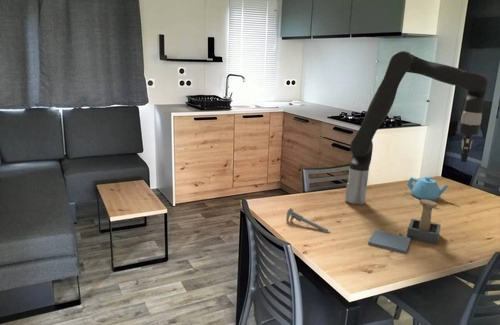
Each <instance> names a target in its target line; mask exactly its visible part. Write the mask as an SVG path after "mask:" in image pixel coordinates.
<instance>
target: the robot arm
mask: <svg viewBox="0 0 500 325" xmlns="http://www.w3.org/2000/svg"><path fill="white" fill-rule="evenodd" d="M386 68H387V69H386V71H385V74H384V76H383V79H382V80H381V82H380V85H379V86H378V88H377V89H376V92H375V94H374V95H373V97H372V99H371V101H370V104H369V106H368V108H367V111H366V113H365V116H364V118H363V120H362V123H361V125H360V127H359V129H358V131H357V132H356V134H355V136H354V137H353V138H352V141H351V143H350V145H349V146H350V152H351V154H352V156H351V160H350V162H349V169H348V180H347V183H346V188H345V196H344V197H345V198H344V201H345V202H347V203H350V204H353V205H363V204H365V203H366V199H367V198H366V197H367V190H368V189H367V188H368V180H369V171H370V164H371V162H372V156H373V149H374V148H373V147H374V145H373V143H374V142H373V138H374V137H375V135H376V132H377V131H378V129H379V128H380V127H381V126H382V124H383V123H384V121H385V119H386V118H387V117H388V115H389V113H390V111H391V109H392V108H393V104H394V102H395V100H396V95H397V92H398V88H399V85H400V84H401V81H402V80H403V78H404V76H405V75H406V73H411V74H415V75H416V74H417V75H421V76H425V77H427V78H430V79H432V80H435V81H437V82H441V83H444V84H448V85H451V86H457V87H459V88H462V89H465V90H467V91H466V92H467V93H466V98H465V100H464V105H463V111H462V113H461V118H460V122H459V129H458V133H459V134H461V135H463V136H462V138H461V154H460V162H461V163H467V161H468V157H469V153H470V150H471V148H472V144H473V141H474V140H473V139H474V138H472V136H477V135H479V134H480V133H479V132H480V129H481V124H482V118H483V110H484V104H485V103H484V102H485V96H486V92H487V88H488V85H489V83H488V82H489V81H488V78H487V76H485V75H484V74H482V73H476V72H470V71H466V70H464V69H461V68H458V67H455V66H451V65H447V64H442V63H438V62H432V61H428V60H425V59H423V58H420V57H418V56H416V55H414V54H411V53H410V52H409V51H406V50H405V51H404V50H400V51H396V52H395V53H393V54H392V56H391V58H390V60H389V63H388V66H387V67H386Z"/></svg>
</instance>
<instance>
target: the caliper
mask: <svg viewBox="0 0 500 325" xmlns="http://www.w3.org/2000/svg"><path fill="white" fill-rule="evenodd" d="M290 216H291V217H290ZM294 219H295V220H296V221H298V222H299V223H300V222H303V223H305V224H308V225H309V226H312V228H313V227H314V228H315V229H318V230H320V231H321V232H324V233H328V234H330V233H331V230H329V228H326V227H324V226H322V225H320V224H318V223H316V222H314V221H312V220H310V219H308V218H306V217H304V216H303V215H302V214H300V213H298V212H296V211H294V208H292V207H290V208H289V209H287V213H286V221H289V222H293V220H294Z"/></svg>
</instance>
